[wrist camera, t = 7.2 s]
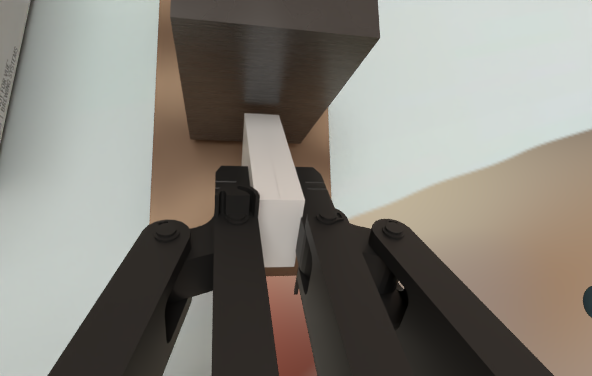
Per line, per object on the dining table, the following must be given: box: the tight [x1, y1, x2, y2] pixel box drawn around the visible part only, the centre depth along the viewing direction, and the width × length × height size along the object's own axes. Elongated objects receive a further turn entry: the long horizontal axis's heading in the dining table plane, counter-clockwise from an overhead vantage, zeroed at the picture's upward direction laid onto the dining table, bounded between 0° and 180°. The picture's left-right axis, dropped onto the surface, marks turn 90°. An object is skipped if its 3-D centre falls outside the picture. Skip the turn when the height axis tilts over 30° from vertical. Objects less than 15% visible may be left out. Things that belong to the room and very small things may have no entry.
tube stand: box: [149, 0, 331, 276], centre depth 21 cm, size 26×10×8 cm, turn 1°
